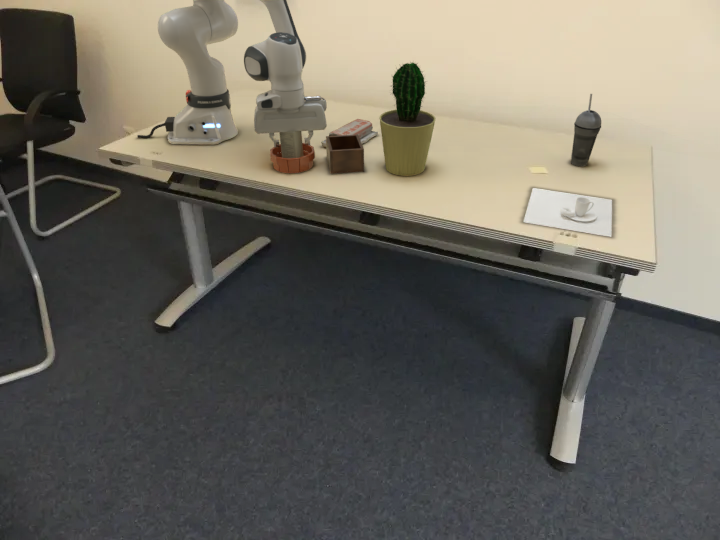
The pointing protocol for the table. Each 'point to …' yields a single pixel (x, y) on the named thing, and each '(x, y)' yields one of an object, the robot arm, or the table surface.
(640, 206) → the table surface
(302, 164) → the bowl
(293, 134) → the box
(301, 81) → the robot arm
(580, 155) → the beverage cup
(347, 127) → the packaged product
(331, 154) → the holder
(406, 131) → the potted cactus
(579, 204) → the teacup and saucer
